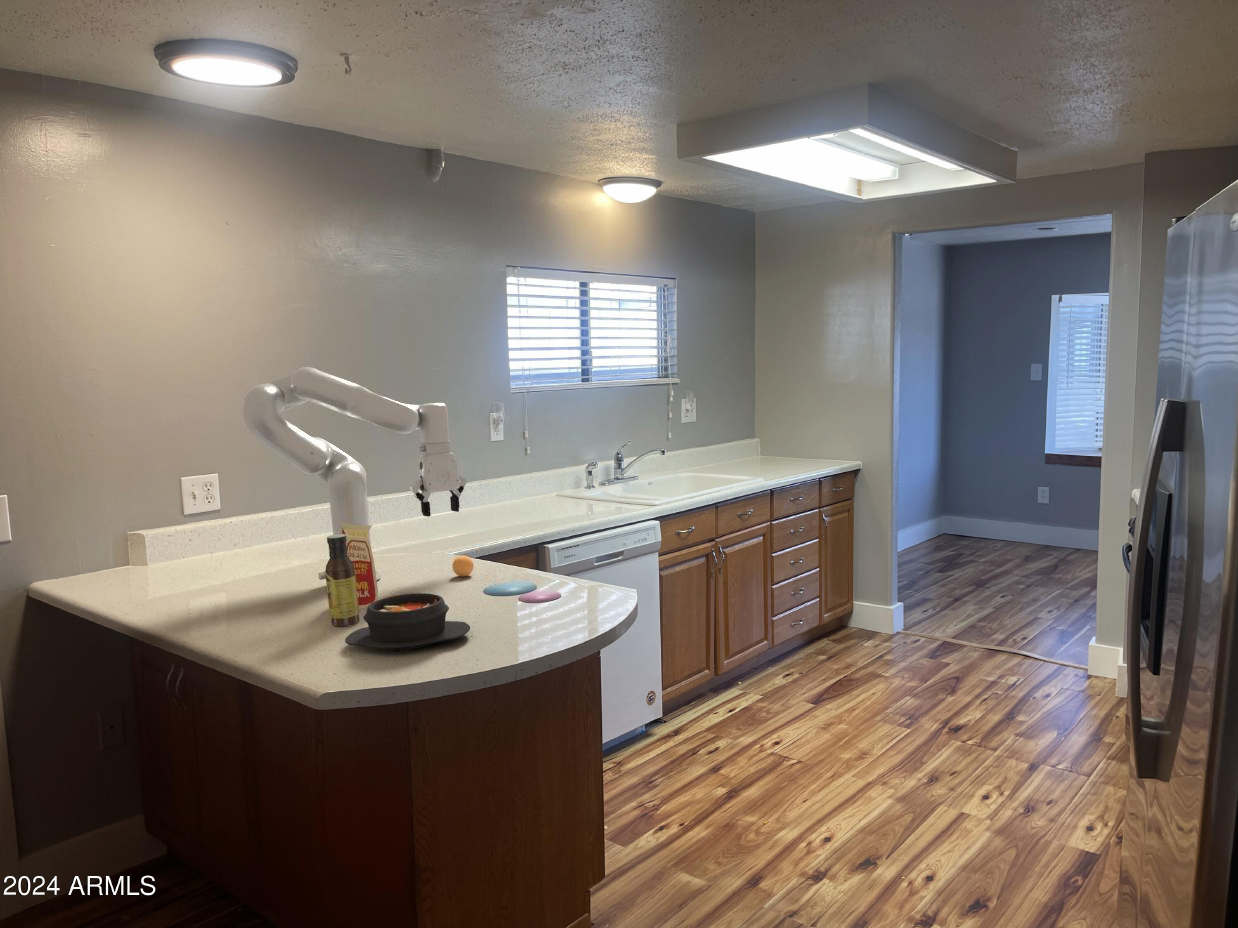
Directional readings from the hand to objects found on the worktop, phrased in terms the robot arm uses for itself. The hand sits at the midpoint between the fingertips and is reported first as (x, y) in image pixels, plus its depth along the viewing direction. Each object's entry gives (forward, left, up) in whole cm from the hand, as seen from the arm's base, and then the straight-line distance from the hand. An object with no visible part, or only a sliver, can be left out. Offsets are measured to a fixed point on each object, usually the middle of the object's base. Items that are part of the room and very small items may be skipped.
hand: (441, 513), depth 249 cm
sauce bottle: (-41, -28, -16) cm, 52 cm away
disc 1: (0, -32, -16) cm, 35 cm away
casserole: (-38, -52, -16) cm, 66 cm away
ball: (0, -10, -13) cm, 16 cm away
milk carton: (-31, -14, -16) cm, 38 cm away
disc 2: (0, -44, -16) cm, 47 cm away
